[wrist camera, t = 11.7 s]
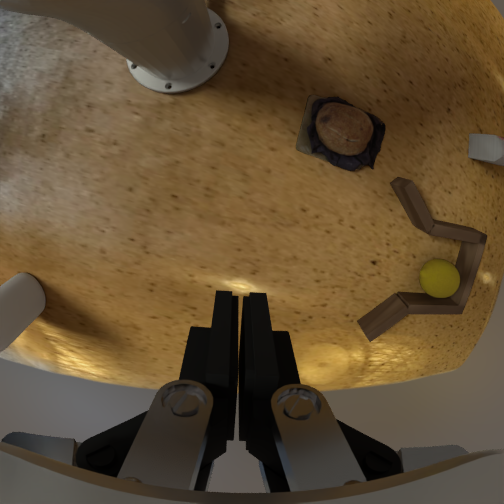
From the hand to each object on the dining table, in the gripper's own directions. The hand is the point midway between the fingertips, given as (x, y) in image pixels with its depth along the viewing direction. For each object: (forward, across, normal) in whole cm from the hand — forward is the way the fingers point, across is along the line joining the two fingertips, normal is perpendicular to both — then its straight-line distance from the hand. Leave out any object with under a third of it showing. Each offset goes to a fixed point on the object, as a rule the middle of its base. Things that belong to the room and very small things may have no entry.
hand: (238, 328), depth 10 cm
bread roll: (+28, -12, -8) cm, 32 cm away
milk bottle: (+28, +34, +18) cm, 47 cm away
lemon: (+24, -25, +8) cm, 36 cm away
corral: (+27, -27, +8) cm, 39 cm away
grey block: (+28, -36, -11) cm, 47 cm away
